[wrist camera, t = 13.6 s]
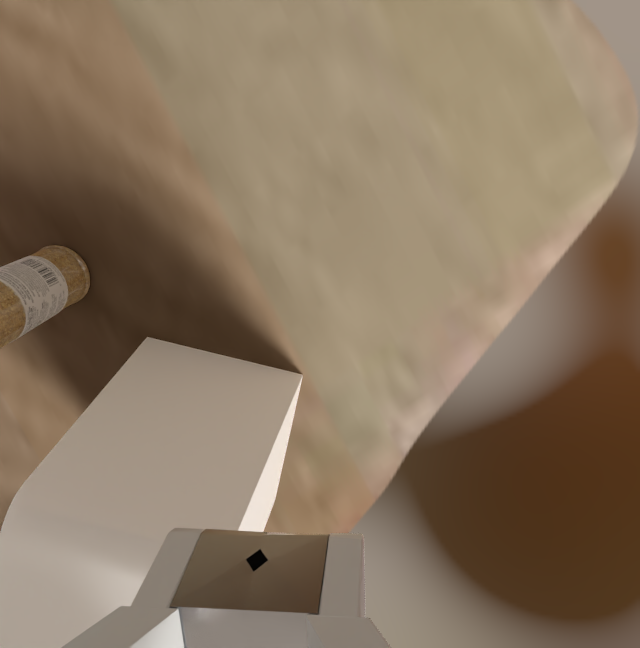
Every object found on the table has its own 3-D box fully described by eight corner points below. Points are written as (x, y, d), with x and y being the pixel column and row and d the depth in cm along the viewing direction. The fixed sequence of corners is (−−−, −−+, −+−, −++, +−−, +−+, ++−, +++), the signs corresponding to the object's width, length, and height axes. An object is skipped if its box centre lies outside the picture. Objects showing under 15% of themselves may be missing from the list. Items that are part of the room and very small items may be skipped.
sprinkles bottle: (21, 264, 44) (-128, 327, 31) (65, 231, 43) (-71, 284, 30) (61, 314, 45) (-67, 396, 32) (105, 284, 44) (-10, 357, 31)
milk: (303, 374, 44) (195, 698, 20) (274, 499, 49) (157, 893, 24) (147, 336, 45) (-143, 609, 21) (132, 463, 49) (-123, 816, 25)
